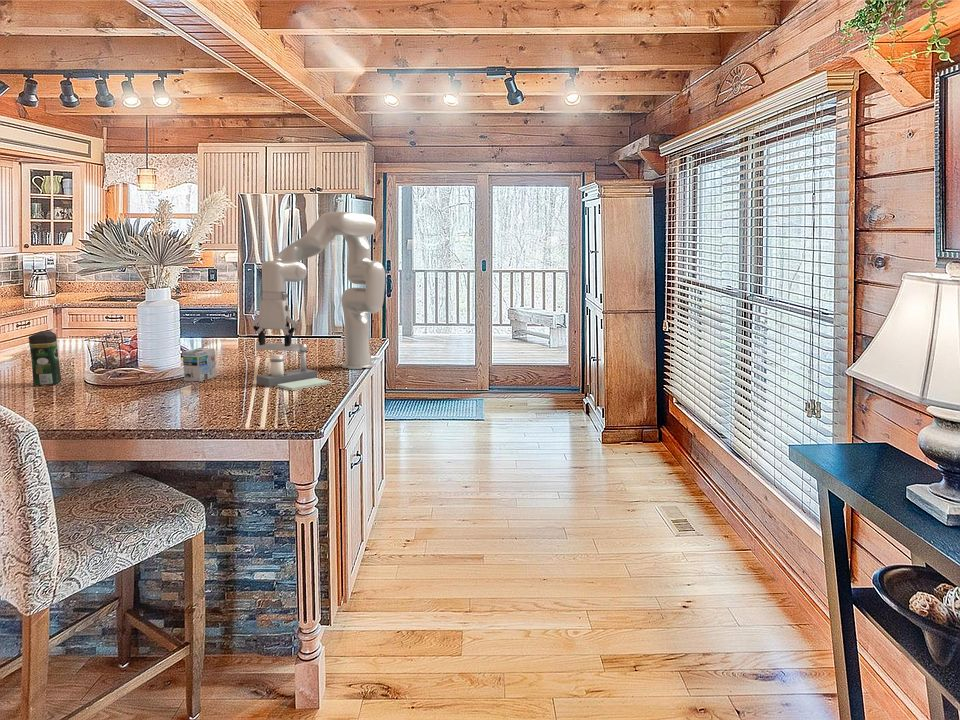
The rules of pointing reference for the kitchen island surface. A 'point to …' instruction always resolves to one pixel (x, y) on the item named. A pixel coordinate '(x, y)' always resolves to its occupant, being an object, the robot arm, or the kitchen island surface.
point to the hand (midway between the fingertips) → (274, 345)
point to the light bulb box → (199, 364)
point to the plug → (277, 365)
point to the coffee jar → (44, 358)
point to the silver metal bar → (282, 347)
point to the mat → (303, 384)
